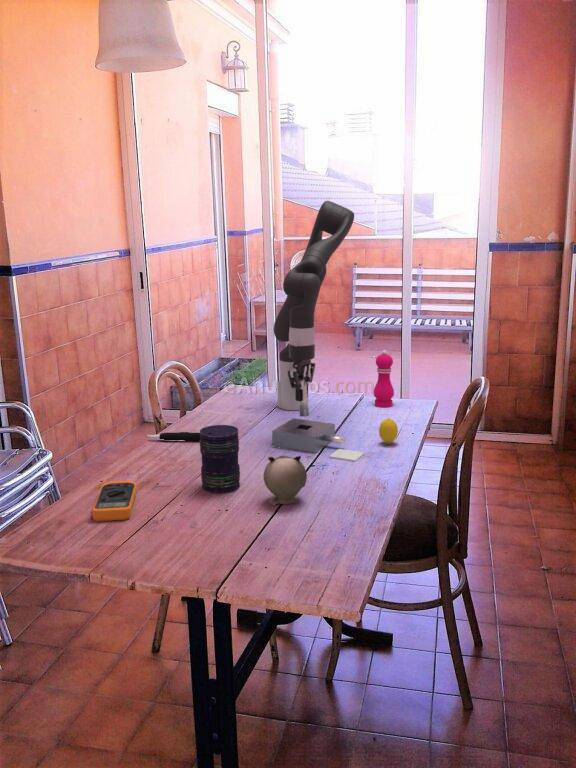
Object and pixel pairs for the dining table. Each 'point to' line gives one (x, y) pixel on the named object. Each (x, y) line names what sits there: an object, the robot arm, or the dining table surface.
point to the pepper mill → (383, 381)
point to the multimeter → (115, 501)
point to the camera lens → (219, 459)
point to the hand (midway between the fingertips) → (301, 399)
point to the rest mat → (346, 455)
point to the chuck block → (305, 435)
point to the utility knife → (177, 436)
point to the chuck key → (304, 399)
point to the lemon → (388, 430)
